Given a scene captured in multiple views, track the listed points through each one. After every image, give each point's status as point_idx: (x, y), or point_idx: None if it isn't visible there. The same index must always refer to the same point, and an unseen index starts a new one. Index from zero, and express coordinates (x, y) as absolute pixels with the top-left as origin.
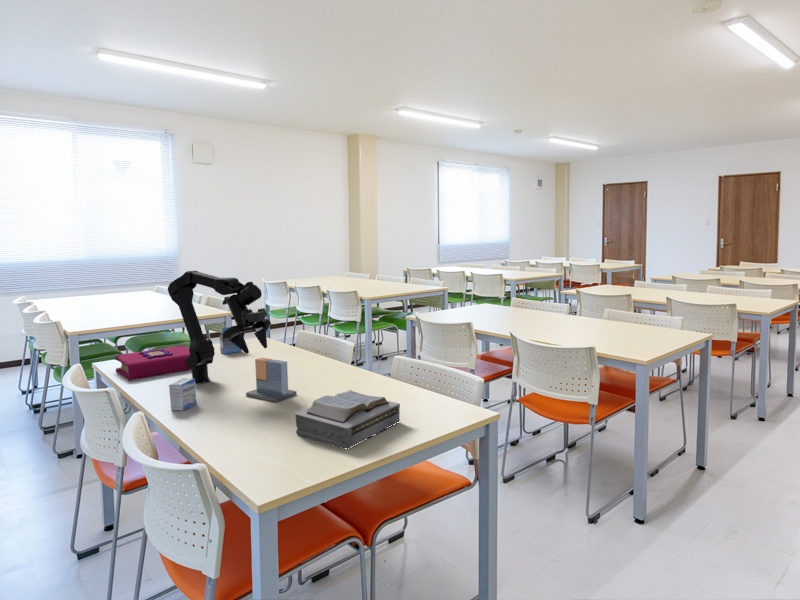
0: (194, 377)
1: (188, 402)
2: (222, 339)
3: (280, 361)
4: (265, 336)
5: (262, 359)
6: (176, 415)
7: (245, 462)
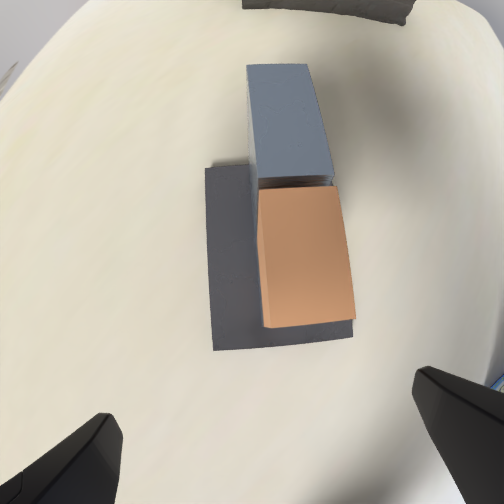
0: None
1: None
2: None
3: (270, 93)
4: (18, 489)
5: (318, 254)
6: None
7: (487, 50)
